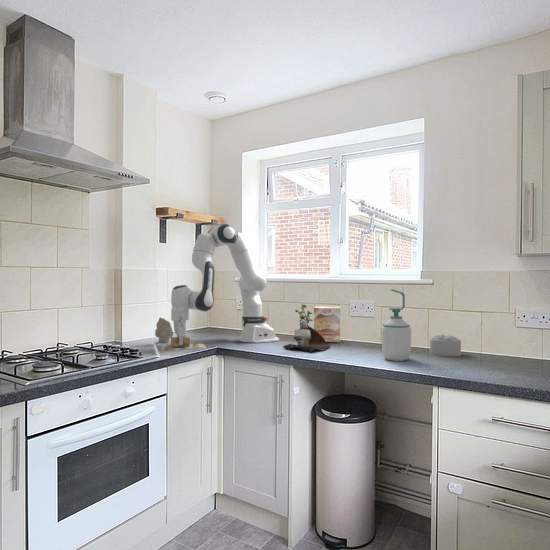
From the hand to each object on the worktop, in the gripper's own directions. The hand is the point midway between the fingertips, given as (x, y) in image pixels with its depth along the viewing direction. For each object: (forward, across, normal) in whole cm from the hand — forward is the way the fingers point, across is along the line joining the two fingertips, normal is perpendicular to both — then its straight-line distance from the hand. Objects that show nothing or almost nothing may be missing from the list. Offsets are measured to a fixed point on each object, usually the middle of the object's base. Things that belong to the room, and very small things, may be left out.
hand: (180, 343), depth 218 cm
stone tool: (+3, +20, +6) cm, 21 cm away
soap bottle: (+3, -62, -88) cm, 107 cm away
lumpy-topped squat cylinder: (+3, -60, -116) cm, 130 cm away
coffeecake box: (+3, -3, -83) cm, 83 cm away
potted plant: (+3, -21, -63) cm, 66 cm away
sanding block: (+1, 0, 0) cm, 1 cm away
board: (+3, 0, -2) cm, 3 cm away
